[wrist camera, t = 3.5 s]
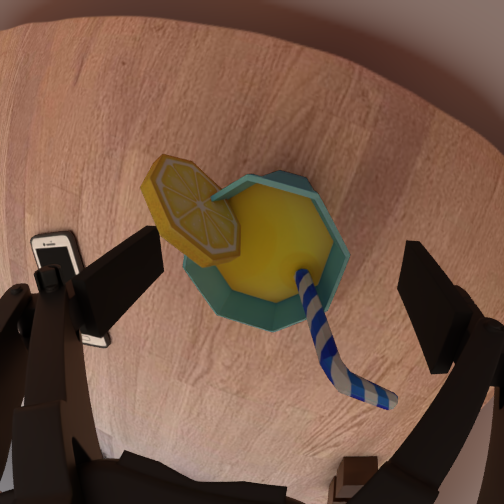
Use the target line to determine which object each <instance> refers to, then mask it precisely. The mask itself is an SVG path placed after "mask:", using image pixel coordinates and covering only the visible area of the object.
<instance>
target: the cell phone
mask: <svg viewBox="0 0 504 504" xmlns="http://www.w3.org/2000/svg"><path fill="white" fill-rule="evenodd" d="M30 243H31V247H32V251H33V254H34V257H35V260H36V263H38V264H37V266H39V267H38V269H39V268H41V267H44V266H47V265H52V264H58V265H60V266H61V269H62V273H63V277H64V281H65V283H66V282H68V281H69V280H70V279H71V278H73V277H74V276H75V275H77V274H78V273H79V272H81V271H82V270H84V268H83V265H82V262H81V259H80V255H79V252H78V249H77V245H76V242H75V239H74V236H73V234H72V233H71V232H69V231H61V232H53V233H45V234H38V235H35V236H33V237H32V238H31V240H30ZM80 332H81V335H82V342H83V344H84V345H89V346H94V347H99V348H107V347H108V346H109V345H110V340H109V337H108V334H107V333H106V334H105V335H104V336H103V337H102V339H101V338H97V337H93V336H90V335H88V333H87V330H86V327H85V324H84V325H83V326H82V327H81V328H80Z"/></svg>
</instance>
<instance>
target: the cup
mask: <svg viewBox="0 0 504 504" xmlns="http://www.w3.org/2000/svg"><path fill="white" fill-rule="evenodd" d="M140 188H141V191H142V193H143V196H144V198H145V201H146V203H147V206H148V208H149V210H150V213H151V215H152V217H153V220H154V222H155V224H156V227H157V229H158V231H159V234H160V236H161V237H163V238H164V239H165V240H166V241H168V242H169V243H170V244H172V245H173V246H174V247H175V248H177V249H178V250H179V251H181V252H182V253H183V254H184V260H183V268H184V270H185V271H186V273H187V274H188V276H189V277H190V279H191V280H192V281H193V283H194V284H195V286H196V287H197V289H198V290H199V291H200V293H201V294H202V296H203V297H204V298H205V300H206V301H207V303H208V304H209V305H210V307H211V308H212V310H213V311H214V312H215V314H216V315H218V316H221V317H224V318H227V319H230V320H233V321H237V322H240V323H243V324H246V325H249V326H253V327H256V328H259V329H263V330H266V331H269V332H276V331H279V330H281V329H284V328H287V327H289V326H292V325H294V324H297V323H299V322H302V321H304V320H307V321H308V325H309V328H310V331H311V335H312V338H313V342H314V345H315V348H316V352H317V355H318V359H319V362H320V365H321V367H322V369H323V370H324V372H325V374H326V375H327V377H328V379H329V380H330V381H331V382H332V384H333V385H334V386H335V388H336V389H337V390H338V392H340V393H342V394H345V395H347V396H350V397H353V398H355V399H358V400H361V401H363V402H366V403H369V404H371V405H374V406H377V407H380V408H383V409H386V410H390V409H394V407H395V406H396V405H397V403H398V396H397V395H396V394H395V393H394V392H391V391H389V390H387V389H385V388H383V387H381V386H379V385H377V384H375V383H372V382H370V381H368V380H366V379H364V378H362V377H360V376H358V375H356V374H354V373H352V372H350V371H349V369H348V368H347V367H346V366H345V365H344V363H343V362H342V360H341V358H340V355H339V352H338V350H337V347H336V344H335V341H334V338H333V335H332V332H331V330H330V327H329V324H328V321H327V318H326V316H325V313H324V312H326V311H328V309H329V307H330V304H331V302H332V300H333V297H334V295H335V293H336V290H337V288H338V285H339V283H340V280H341V278H342V275H343V273H344V270H345V268H346V265H347V263H348V260H349V258H350V253H349V251H348V249H347V247H346V245H345V243H344V241H343V239H342V237H341V235H340V233H339V231H338V230H337V228H336V226H335V224H334V222H333V220H332V218H331V216H330V214H329V213H328V211H327V209H326V207H325V205H324V203H323V201H322V200H321V198H320V196H319V194H318V193H317V192H316V191H314V190H313V188H312V186H311V185H310V183H309V181H308V179H307V178H306V177H303V176H299V175H296V174H292V173H289V172H285V171H281V170H279V171H276V172H273V173H270V174H267V175H264V176H259V175H255V174H247V175H245V176H243V177H242V178H240V179H238V180H237V181H235V182H233V183H232V184H230V185H229V186H227V187H225V188H224V189H221V188H220V187H219V186H218V185H217V184H216V183H215V182H214V181H213V180H212V179H211V178H210V177H208V176H207V175H206V174H205V173H204V172H203V171H202V170H201V169H200V168H199V167H198V166H197V165H196V164H195V163H194V162H193V161H189V160H185V159H181V158H177V157H173V156H169V155H165V154H162V155H161V156H160V157H159V158H158V159H157V160H156V161H155V162H154V163H153V165H152V166H151V168H150V170H149V172H148V174H147V176H146V177H145V179H144V181H143V183H142V185H141V187H140Z"/></svg>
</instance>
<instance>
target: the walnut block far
mask: <svg viewBox="0 0 504 504" xmlns="http://www.w3.org/2000/svg"><path fill="white" fill-rule="evenodd" d="M336 481H337V476H334V478H333V480H332V482H331V484H330V486H329V491H328V502H327V504H345V503H347V502H348V501H349V500H350V499H351V498H335V496H336Z"/></svg>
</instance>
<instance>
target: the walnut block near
mask: <svg viewBox="0 0 504 504" xmlns="http://www.w3.org/2000/svg"><path fill="white" fill-rule="evenodd" d="M377 471H378V461H377V457H344V458H343V460H342V462H341V464H340V466H339V468H338V470H337V481H336V496H335V498H352V497H353V496H354V495H355V494H356V493H357V492H358V491H359V490H360V489H361V488H362V487H363V486H364V485H365V484H366V483H367V481H368V480H369V479H370V478H371V477H372V476H373V475H374V474H375V473H376V472H377Z"/></svg>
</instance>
